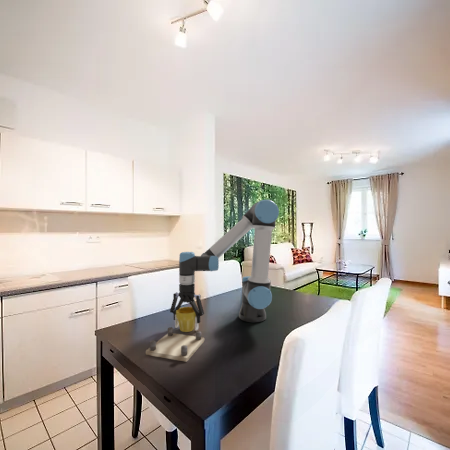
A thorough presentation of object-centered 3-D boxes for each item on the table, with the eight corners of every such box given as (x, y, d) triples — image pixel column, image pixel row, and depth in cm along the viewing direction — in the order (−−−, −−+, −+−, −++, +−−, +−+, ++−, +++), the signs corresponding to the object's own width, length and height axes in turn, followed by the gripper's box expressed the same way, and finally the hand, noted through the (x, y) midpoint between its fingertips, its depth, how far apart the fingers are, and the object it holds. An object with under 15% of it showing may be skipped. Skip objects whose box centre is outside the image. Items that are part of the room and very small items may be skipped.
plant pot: (171, 331, 122) (171, 311, 122) (183, 324, 132) (183, 305, 132) (190, 335, 118) (190, 314, 118) (200, 327, 128) (200, 308, 128)
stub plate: (204, 341, 113) (204, 331, 113) (186, 361, 96) (186, 349, 96) (168, 335, 118) (168, 326, 118) (145, 354, 101) (145, 343, 101)
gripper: (162, 283, 125) (162, 328, 125) (205, 286, 118) (205, 334, 118) (170, 280, 132) (170, 322, 132) (210, 283, 125) (210, 327, 125)
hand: (186, 328), depth 125 cm, fingers closed on plant pot, 10 cm apart
